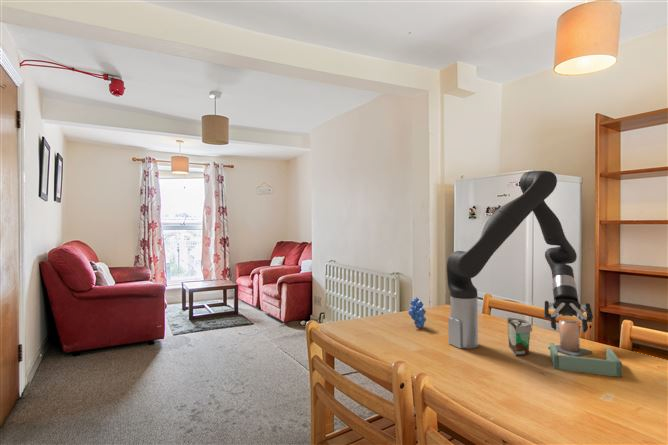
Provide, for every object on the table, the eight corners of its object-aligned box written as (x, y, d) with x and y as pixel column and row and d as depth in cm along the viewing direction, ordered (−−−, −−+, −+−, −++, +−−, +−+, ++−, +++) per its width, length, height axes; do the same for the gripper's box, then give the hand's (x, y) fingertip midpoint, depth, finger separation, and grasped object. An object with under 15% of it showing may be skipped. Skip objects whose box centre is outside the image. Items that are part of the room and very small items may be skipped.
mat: (573, 357, 122) (573, 355, 122) (548, 348, 131) (548, 346, 131) (592, 353, 126) (592, 351, 126) (566, 345, 134) (566, 343, 134)
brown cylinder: (571, 351, 125) (570, 324, 125) (556, 347, 130) (555, 320, 130) (583, 349, 127) (582, 322, 127) (568, 345, 132) (567, 319, 132)
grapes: (402, 323, 166) (402, 296, 166) (417, 322, 167) (416, 295, 167) (414, 331, 154) (413, 301, 154) (429, 329, 156) (429, 300, 156)
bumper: (622, 377, 107) (621, 362, 107) (554, 368, 113) (554, 355, 113) (611, 361, 118) (610, 348, 118) (550, 354, 125) (550, 342, 125)
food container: (537, 359, 122) (537, 327, 121) (517, 357, 123) (516, 326, 123) (526, 346, 134) (526, 317, 134) (507, 345, 135) (507, 317, 135)
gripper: (542, 283, 140) (546, 322, 130) (589, 285, 134) (596, 326, 124) (542, 295, 145) (545, 333, 134) (586, 297, 139) (593, 338, 128)
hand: (569, 330), depth 129 cm, fingers open, 8 cm apart
